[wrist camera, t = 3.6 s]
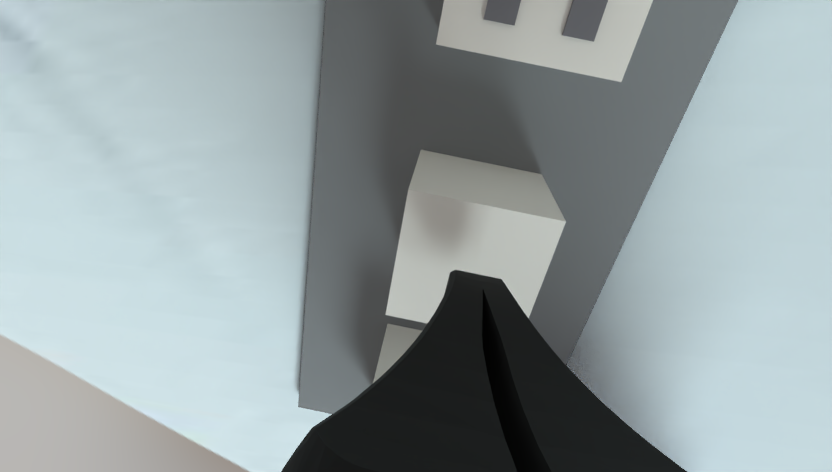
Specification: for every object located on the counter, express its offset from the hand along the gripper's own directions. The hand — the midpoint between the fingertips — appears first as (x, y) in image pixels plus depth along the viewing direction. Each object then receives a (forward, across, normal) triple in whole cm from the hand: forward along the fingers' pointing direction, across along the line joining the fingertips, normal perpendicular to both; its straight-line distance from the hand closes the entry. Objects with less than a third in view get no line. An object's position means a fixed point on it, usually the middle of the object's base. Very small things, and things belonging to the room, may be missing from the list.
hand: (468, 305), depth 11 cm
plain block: (+6, 0, 0) cm, 6 cm away
